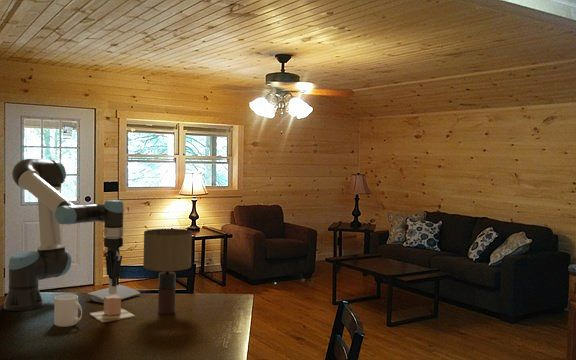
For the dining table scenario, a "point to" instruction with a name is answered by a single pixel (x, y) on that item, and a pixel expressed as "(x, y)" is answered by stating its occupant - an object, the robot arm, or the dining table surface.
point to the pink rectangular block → (112, 305)
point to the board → (105, 318)
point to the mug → (66, 310)
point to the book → (121, 292)
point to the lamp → (167, 261)
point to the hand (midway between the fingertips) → (112, 293)
